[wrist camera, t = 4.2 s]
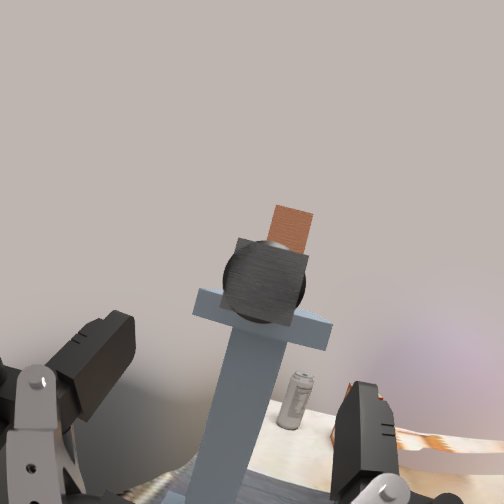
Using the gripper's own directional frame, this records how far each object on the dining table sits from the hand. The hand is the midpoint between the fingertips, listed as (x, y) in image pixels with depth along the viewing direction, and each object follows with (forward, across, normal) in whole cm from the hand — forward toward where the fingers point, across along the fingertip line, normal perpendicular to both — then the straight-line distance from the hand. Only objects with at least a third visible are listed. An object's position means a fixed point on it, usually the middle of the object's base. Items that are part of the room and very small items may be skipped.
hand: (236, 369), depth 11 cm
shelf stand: (+2, 0, +36) cm, 36 cm away
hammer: (+13, 0, +6) cm, 14 cm away
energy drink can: (+45, -12, +62) cm, 77 cm away
